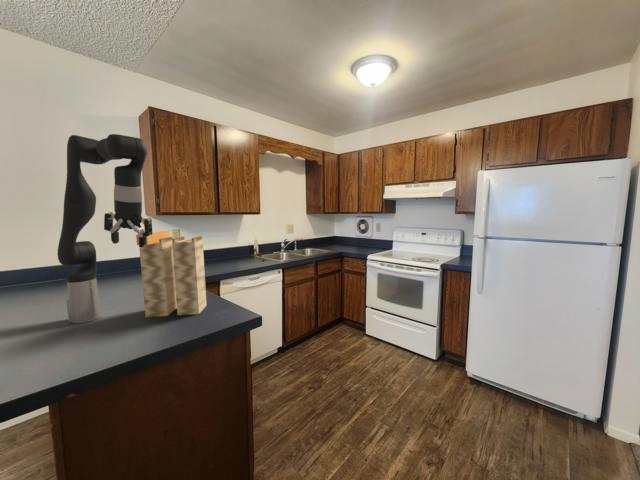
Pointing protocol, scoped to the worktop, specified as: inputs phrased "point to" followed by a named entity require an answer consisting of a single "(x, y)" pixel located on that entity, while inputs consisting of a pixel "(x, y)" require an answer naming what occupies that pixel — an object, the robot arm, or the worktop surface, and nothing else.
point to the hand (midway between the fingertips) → (129, 244)
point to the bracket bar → (154, 237)
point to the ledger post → (189, 275)
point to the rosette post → (158, 278)
